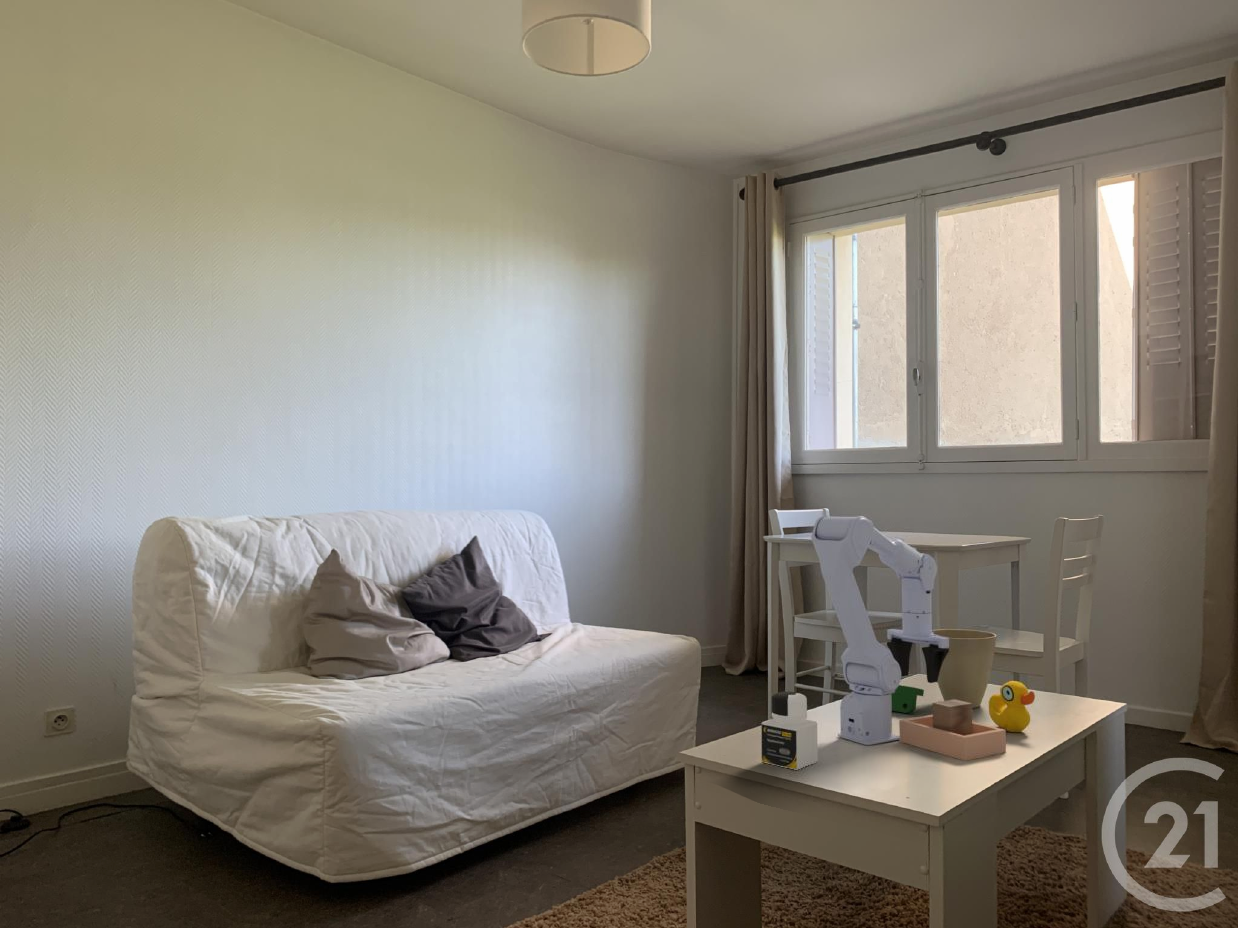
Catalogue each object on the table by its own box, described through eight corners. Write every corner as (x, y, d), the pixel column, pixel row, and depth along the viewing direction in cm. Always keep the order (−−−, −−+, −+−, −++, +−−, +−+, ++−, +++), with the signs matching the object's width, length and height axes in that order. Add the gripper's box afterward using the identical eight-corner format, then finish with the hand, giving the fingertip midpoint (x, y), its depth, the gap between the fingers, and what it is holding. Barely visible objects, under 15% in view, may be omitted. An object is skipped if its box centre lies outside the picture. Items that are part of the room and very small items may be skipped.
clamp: (913, 730, 200) (932, 694, 199) (900, 728, 196) (919, 691, 195) (870, 700, 209) (889, 666, 208) (857, 698, 205) (875, 662, 204)
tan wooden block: (950, 745, 167) (949, 706, 167) (933, 740, 170) (932, 702, 171) (972, 741, 170) (972, 703, 170) (955, 736, 173) (954, 699, 174)
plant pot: (946, 694, 216) (945, 627, 217) (1009, 705, 205) (1008, 633, 206) (914, 704, 206) (913, 633, 207) (978, 715, 195) (977, 640, 196)
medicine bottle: (760, 763, 159) (760, 693, 160) (783, 754, 164) (782, 687, 165) (796, 771, 154) (795, 699, 155) (818, 762, 160) (817, 693, 160)
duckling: (1045, 737, 177) (1044, 685, 178) (1023, 739, 175) (1022, 686, 176) (1002, 723, 188) (1002, 674, 188) (981, 725, 186) (980, 676, 187)
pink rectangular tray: (965, 760, 161) (964, 737, 161) (899, 741, 174) (899, 720, 174) (1005, 752, 166) (1005, 729, 167) (939, 733, 179) (939, 713, 179)
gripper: (959, 614, 183) (960, 682, 182) (903, 607, 195) (904, 671, 195) (934, 616, 179) (935, 686, 179) (879, 609, 192) (880, 674, 191)
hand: (917, 678), depth 186 cm, fingers open, 7 cm apart
